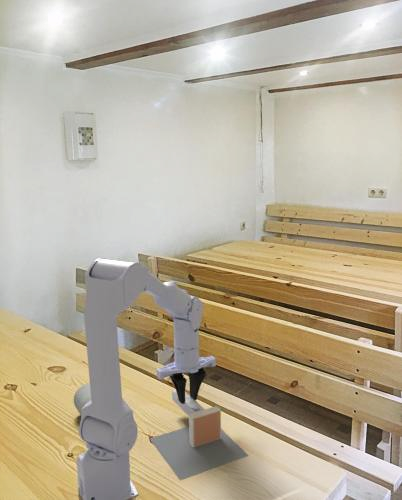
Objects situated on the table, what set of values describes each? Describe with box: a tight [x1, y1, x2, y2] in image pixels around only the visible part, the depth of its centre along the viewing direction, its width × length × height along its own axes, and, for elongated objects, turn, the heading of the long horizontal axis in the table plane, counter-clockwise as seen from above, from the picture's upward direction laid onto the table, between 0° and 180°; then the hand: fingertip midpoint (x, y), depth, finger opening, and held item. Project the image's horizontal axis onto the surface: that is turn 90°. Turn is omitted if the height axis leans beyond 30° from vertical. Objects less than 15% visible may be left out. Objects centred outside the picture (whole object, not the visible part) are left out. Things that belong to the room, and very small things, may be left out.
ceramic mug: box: [73, 382, 91, 416], centre depth 112 cm, size 11×8×8 cm
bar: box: [171, 389, 206, 417], centre depth 108 cm, size 2×12×2 cm, turn 29°
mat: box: [148, 426, 249, 481], centre depth 99 cm, size 16×16×1 cm
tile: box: [188, 405, 222, 448], centre depth 101 cm, size 7×2×7 cm, turn 118°
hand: (187, 400), depth 108 cm, fingers closed on bar, 2 cm apart
